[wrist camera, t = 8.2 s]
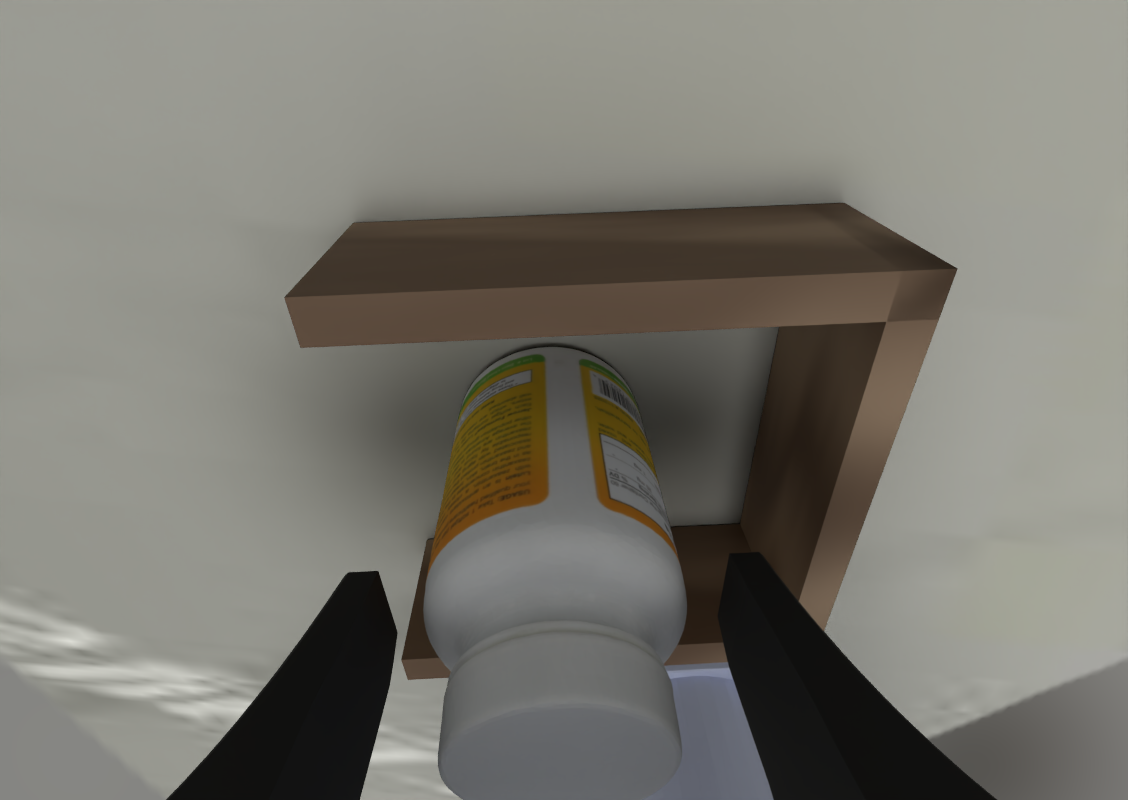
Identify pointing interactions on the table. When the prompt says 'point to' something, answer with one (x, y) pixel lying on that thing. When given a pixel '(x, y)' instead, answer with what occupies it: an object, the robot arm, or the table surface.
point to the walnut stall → (677, 303)
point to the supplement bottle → (554, 590)
